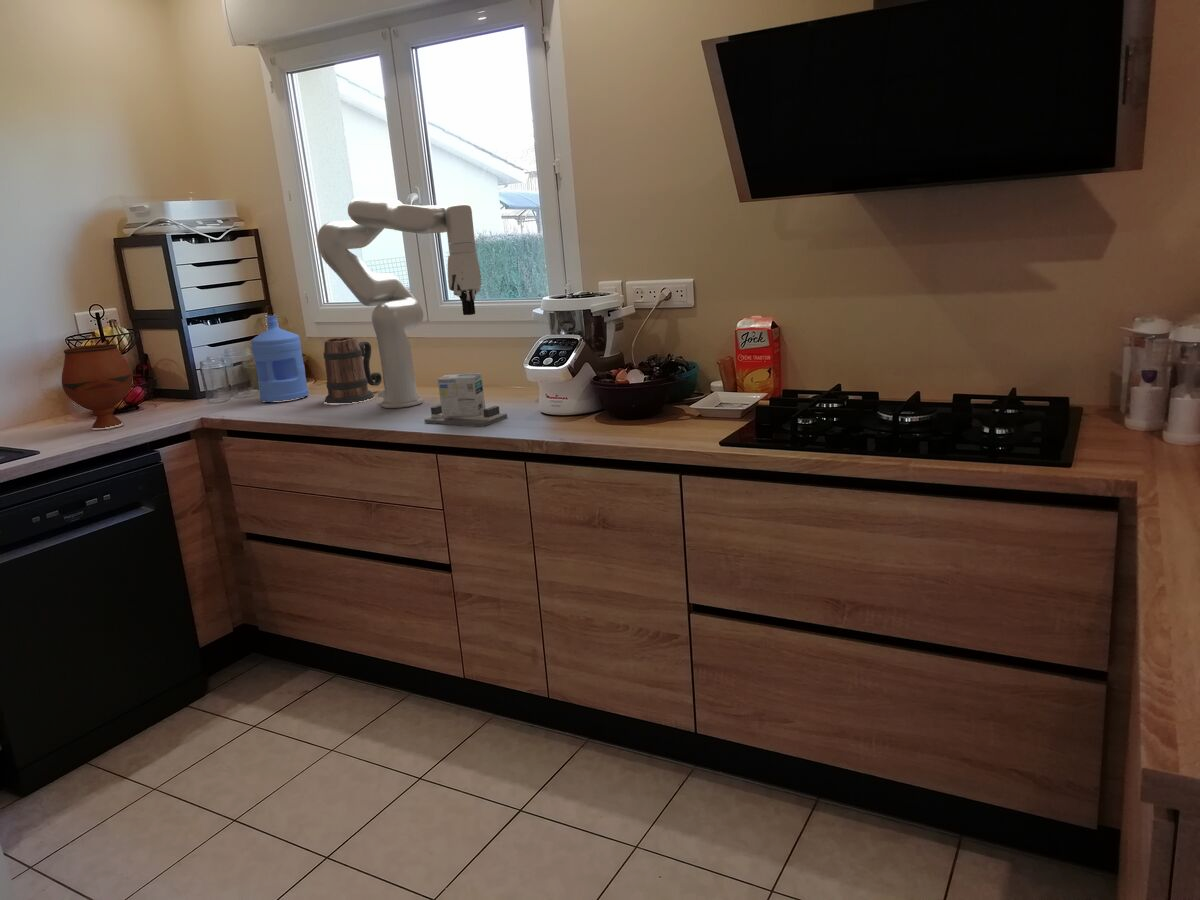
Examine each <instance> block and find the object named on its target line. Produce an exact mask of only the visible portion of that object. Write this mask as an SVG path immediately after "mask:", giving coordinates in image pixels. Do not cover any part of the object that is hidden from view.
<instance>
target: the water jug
mask: <svg viewBox="0 0 1200 900" xmlns="http://www.w3.org/2000/svg"><path fill="white" fill-rule="evenodd" d="M266 319H267V322H266V323H267V326H268V328H267V329H266V330H265V331H263V332H261V333H260V334H258V335H257V336H255V337H254V338H252V339H251V340H250V344H251V345H250V348H251V353H252V355H253V356H252V357H253V360H254V364H255V370H256V376H257V386H258V390H259V400H260V401H261V402H262V401H265V402H273V401H283V400H291V399H296V398H301V397H305V396H307V395H308V394H310V392H309V388H308V384H307V383H308V382H307V377H306V368H305V363H304V358H303V352H302V351H303V350H302V342H301V339H300V335H299V334H297V333H294V332H291V331H289V330H286V329H283V328H280V327H279V323H278V318H277V315H267V316H266ZM308 396H309V395H308ZM308 396H307V397H308Z"/></svg>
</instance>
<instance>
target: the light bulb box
mask: <svg viewBox="0 0 1200 900" xmlns="http://www.w3.org/2000/svg"><path fill="white" fill-rule="evenodd" d="M482 375H483V374H482V373H481V372H479V373H459V374H445V375H443V376H441V377H438V378H437V383H438V384H437V386H438V390H439V393H438V394H439V400H440V404H441V409H442V417H450V416H478V415H480V414H481V413H483V410H484V409H486V402H485V393H484V384H483V383H484V382H483V376H482Z"/></svg>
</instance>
